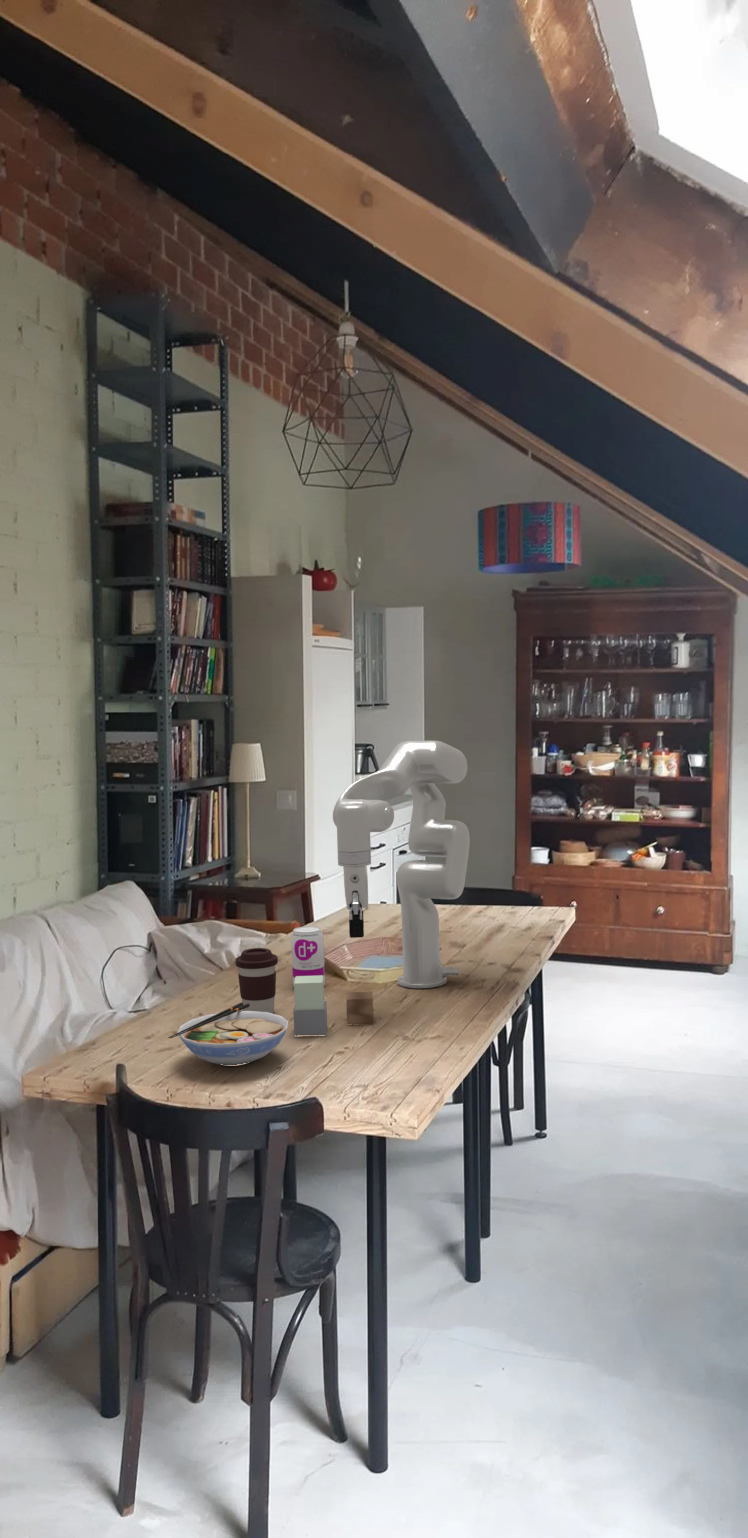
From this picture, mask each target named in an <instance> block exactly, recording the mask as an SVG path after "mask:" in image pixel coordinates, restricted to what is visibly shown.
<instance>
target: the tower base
mask: <svg viewBox="0 0 748 1538" xmlns="http://www.w3.org/2000/svg"><path fill="white" fill-rule="evenodd" d="M327 1008H328V1007H327V1000H324V1008H323V1009H320V1010H295V1005H294V1007H293V1011H292V1012H293V1032H294V1035H296V1036H297V1035H326V1033H327V1034H328V1010H327ZM326 1036H327V1035H326Z"/></svg>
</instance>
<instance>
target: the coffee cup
mask: <svg viewBox="0 0 748 1538" xmlns="http://www.w3.org/2000/svg"><path fill="white" fill-rule="evenodd" d="M278 958H279V957H278V956H277V955H276V954H275V953H272V950H271V949H269V948H267V947H266V948H265V947H254V948H248V949H244V950H243V951H241V954H240V955H238V956H237V957H236V958H235V966H236V967H237V968H238V974H237V977H238V983H239V986H238V987H239V994H240V995H239V996H240V998H241V1003H243V1005H245V1004H249V1005H250V1007H247V1008H245V1009H242V1011H258V1012H268V1013H272V1014H274V1012H275V996H276V993H277V991H276V988H277V987H276V986H277V970H276V965H277V964H278V963H279V961H278V960H279V959H278Z"/></svg>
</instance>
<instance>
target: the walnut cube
mask: <svg viewBox="0 0 748 1538" xmlns="http://www.w3.org/2000/svg"><path fill="white" fill-rule="evenodd" d="M373 994H374V993H373V991H352V992H351V991H349V992H348V991H347V992H346V999H345V1000H346V1003H345V1004H346V1005H345V1006H346V1025H347V1026H349V1025H348V1024H352V1025H351V1026H355V1025H354V1024H369V1025H374V1023H375V1022H374V997H373V996H374V995H373Z"/></svg>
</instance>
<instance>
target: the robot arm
mask: <svg viewBox="0 0 748 1538" xmlns="http://www.w3.org/2000/svg"><path fill="white" fill-rule="evenodd" d="M467 773H468V761H467V757H466V756H465V755H464V753H463V752H462V751H461V750H460V749H457V748H456V747H454V746H451V745H449V744H447V743H445V742H443V741H440V740H406V741H401V742H399V743H397V744H396V746H395V747H394V748H393V749H392V751H391V753H389V756H388V757H387V758H386V759H385V761H384V762H383V763H382V765H381V766H380V767H379V769H378V770H376V771H375V772H373V773H370V774H368V775H367V776H365V777H362V778H360V779H359V780H357V781H355V782H353V783H352V784H351V785H349V786H348V787H347V788H346V789H345V790H344V791H343V792H342V793H341V795H340V796H339V797H338V800H337V801H336V803H335V805H334V807H333V810H332V822H333V823H334V825H335V827H336V839H337V840H336V843H337V844H336V845H337V865H338V866H339V867H342V868H343V885H344V898H345V903H346V909H347V910H349V911H348V912H349V920H348V926H349V927H348V928H349V930H348V931H349V938H350V939H355V938H356V939H357V938H358V939H359V938H363V937H365V929H364V928H365V927H364V926H365V925H364V910H363V908H364V909H365V910H368V908H369V886H368V885H369V880H368V878H369V877H368V869H367V868H368V867H367V866H370V865H372V851H371V850H372V848H371V845H372V843H371V833H383V832H385V831H387V830H388V829H390V827H391V826H392V825H393V823H394V820H395V812H394V808H393V806H392V805H391V804H390V803H389V801H392V800H395V799H398V798H400V797H403V796H404V795H405V794H406V793H407V792H408V790H410V792H411V796H412V813H411V817H410V825H409V833H408V840H407V844H408V845H407V846H408V849H409V851H410V852H411V854H414V855H415V856H419V857H420V856H421V857H431V858H432V857H433V858H445V860H428V859H426V860H425V859H423V860H422V859H412V860H407V861H405V862H402V863H401V864H400V865H399V867H398V868H397V871H396V878H395V879H396V885H397V890H398V895H399V901H400V911H401V912H400V913H401V914H400V915H401V937H402V939H401V940H402V942H401V943H402V944H401V945H402V969H403V971H402V972H403V974H402V975H400V976H398V977H397V984H398V985H399V986H401V987H403V988H410V989H432V988H438V987H441V986H444V985H445V984H446V983H448V982H447V981H448V979H447V978H448V977H447V976H459V972H460V971H459V967H453V966H444V965H442V962H441V949H440V947H441V946H440V945H441V943H440V916H439V912H438V909H437V906H436V905H435V903H434V902H433V900H432V899H435V900H438V899H439V900H456V899H459V898H460V896H461V895H462V894H463V891H464V888H465V884H466V877H467V870H468V869H467V868H468V861H469V853H470V846H471V845H470V842H471V838H470V831H469V828H468V826H467V825H466V823H464V822H463V821H460V820H456V819H455V820H454V819H452V820H451V819H445V817H446V806H447V803H446V800H445V797H444V796H443V794H442V792H441V791H440V789H439V788H438V787H437V786H436V784H459V783H460V782H462V781H463V780H464V779H465V777H466V776H467Z"/></svg>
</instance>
